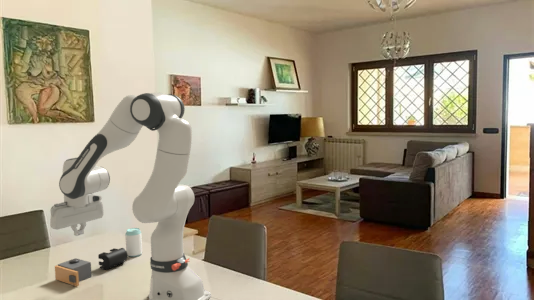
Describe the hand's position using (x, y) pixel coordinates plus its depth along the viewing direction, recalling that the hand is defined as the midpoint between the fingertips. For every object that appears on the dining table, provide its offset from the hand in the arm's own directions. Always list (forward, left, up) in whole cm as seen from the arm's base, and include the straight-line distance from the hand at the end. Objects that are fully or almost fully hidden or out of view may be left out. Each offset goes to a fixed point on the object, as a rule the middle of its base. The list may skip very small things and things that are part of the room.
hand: (79, 234), depth 152 cm
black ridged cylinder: (+4, -17, -19) cm, 26 cm away
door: (+5, +4, -19) cm, 20 cm away
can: (+7, -31, -19) cm, 38 cm away
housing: (+7, -2, -19) cm, 20 cm away
